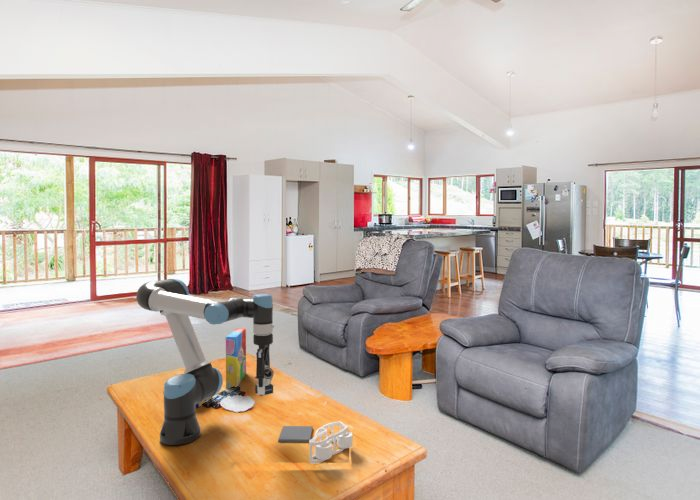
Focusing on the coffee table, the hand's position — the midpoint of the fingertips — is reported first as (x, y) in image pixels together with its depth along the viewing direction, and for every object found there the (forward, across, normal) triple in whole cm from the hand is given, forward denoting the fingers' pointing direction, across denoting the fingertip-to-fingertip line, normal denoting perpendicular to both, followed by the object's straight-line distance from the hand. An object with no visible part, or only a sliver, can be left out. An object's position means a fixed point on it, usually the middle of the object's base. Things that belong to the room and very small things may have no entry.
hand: (263, 390), depth 182 cm
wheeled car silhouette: (+17, -16, -27) cm, 36 cm away
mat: (+17, -2, -13) cm, 21 cm away
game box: (+17, +58, +26) cm, 66 cm away
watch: (+1, 0, 0) cm, 1 cm away
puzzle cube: (+17, +32, +38) cm, 52 cm away
